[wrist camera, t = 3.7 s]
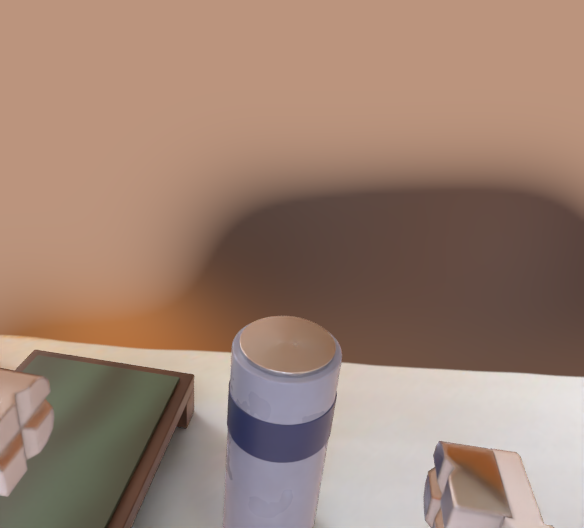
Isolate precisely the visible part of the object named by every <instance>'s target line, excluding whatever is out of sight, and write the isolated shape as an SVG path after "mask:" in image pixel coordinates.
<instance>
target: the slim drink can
mask: <svg viewBox="0 0 584 528" xmlns="http://www.w3.org/2000/svg"><path fill="white" fill-rule="evenodd" d="M341 361H342V351H341V347H340V345H339V343H338V341H337V340H336V339H335V338H334V336H333V335H331V334H330V333H329V332H328V331H326V330H325V329H324V328H323V327H321V326H320V325H318V324H316V323H314V322H311V321H309V320H306V319H302V318H298V317H292V316H273V317H266V318H263V319H259V320H257V321H255V322H253V323H251V324H249V325H247V326H245V327H244V328H242V329H241V330H240V331H239V332H238V333H237V335H236V336H235V338H234V340H233V343H232V355H231V375H230V382H229V395H228V415H227V426H228V435H227V455H226V475H225V495H224V515H223V528H313V527H314V522H315V516H316V510H317V504H318V498H319V492H320V486H321V480H322V474H323V468H324V462H325V456H326V450H327V444H328V439H329V436H330V432H331V426H332V420H333V414H334V408H335V403H336V397H337V385H338V379H339V373H340V367H341Z"/></svg>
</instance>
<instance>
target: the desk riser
mask: <svg viewBox="0 0 584 528" xmlns="http://www.w3.org/2000/svg"><path fill="white" fill-rule="evenodd" d="M15 371H19V372H25V373H30V374H35V375H40V376H44V377H46V378H48V379H49V385H50V390H51V392H50V393H49V394H48V396H47V397H46V398H45V399H46V400H47V401H48V403H49V404H50V405H51V406H52V407H53V411H54V425H53V430H52V432H51V435H50V437H49V440H48V442H47V444H46V445H45V447H44V448H43V449H42V451H41V452H40V453H39V454H37V455H35V456H33V457H31V458H30V459H28V460H27V471H26V473H25V474H24V475H23V477H22V478H21V480H20V481H19V482H18V484H17V485H16V486H15V488H14V489H13V490H12V492H11V493H10V494H9V496H8V497H6V496H0V528H131V527H132V525H133V522H134V520H135V518H136V516H137V513H138V511H139V509H140V507H141V504H142V502H143V500H144V498H145V496H146V493H147V491H148V489H149V487H150V484H151V482H152V480H153V478H154V475H155V473H156V471H157V469H158V466H159V464H160V462H161V460H162V457H163V455H164V453H165V451H166V449H167V446H168V444H169V442H170V440H171V437H172V435H173V433H174V431H175V428H176V427H182V428H187V426H188V424H189V422H190V419H191V417H192V414H193V412H194V375H193V374H187V373H181V372H174V371H168V370H161V369H155V368H149V367H142V366H136V365H129V364H123V363H117V362H110V361H104V360H97V359H91V358H85V357H78V356H72V355H66V354H59V353H53V352H46V351H40V350H34V351H33V352H32V353H31V354H30V355H29V356H28V357H27V358H26V359H25V360H24V361H23V363H22V364H21V365H20V366H19V367H18V368H17V369H16V370H15Z"/></svg>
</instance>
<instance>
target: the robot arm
mask: <svg viewBox="0 0 584 528" xmlns="http://www.w3.org/2000/svg"><path fill="white" fill-rule="evenodd" d="M50 392H51V390H50V385H49V379H48V378H46V377H44V376H40V375H35V374H30V373H25V372H19V371H14V370H9V369H4V368H0V496H6V497H8V496H9V494H10V493H11V492H12V490H13V489H14V488H15V486H16V485H17V484H18V482H19V481H20V480H21V478H22V477H23V475H24V474H25V473H26V471H27V460H28V459H30V458H31V457H33V456H35V455H37V454H39V453H40V452H41V451H42V449H43V448H44V447H45V445H46V444H47V442H48V440H49V437H50V435H51V432H52V430H53V425H54V411H53V407H52V406H51V405H50V404H49V403H48V401H47V400H46V399H45V398H46V397H47V396H48V394H49V393H50ZM433 456H434V463H435V467H434V468H433V469H431V470H430V471H428V475H427V479H426V483H425V490H424V515H425V521H426V522H427V523H428V525H429V526H430V527H431V528H554V527H553V526H551V525H546V524H544V522H543V519H542V517H541V514H540V511H539V508H538V505H537V502H536V500H535V497H534V494H533V491H532V488H531V485H530V483H529V480H528V477H527V474H526V471H525V468H524V466H523V463H522V460H521V457H520V456H519V455H518V454H517V453H516V452H510V451H503V450H497V449H488V448H482V447H475V446H469V445H462V444H456V443H450V442H443V441H439V442H438V444H437V445H436V448H435V451H434V455H433Z"/></svg>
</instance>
